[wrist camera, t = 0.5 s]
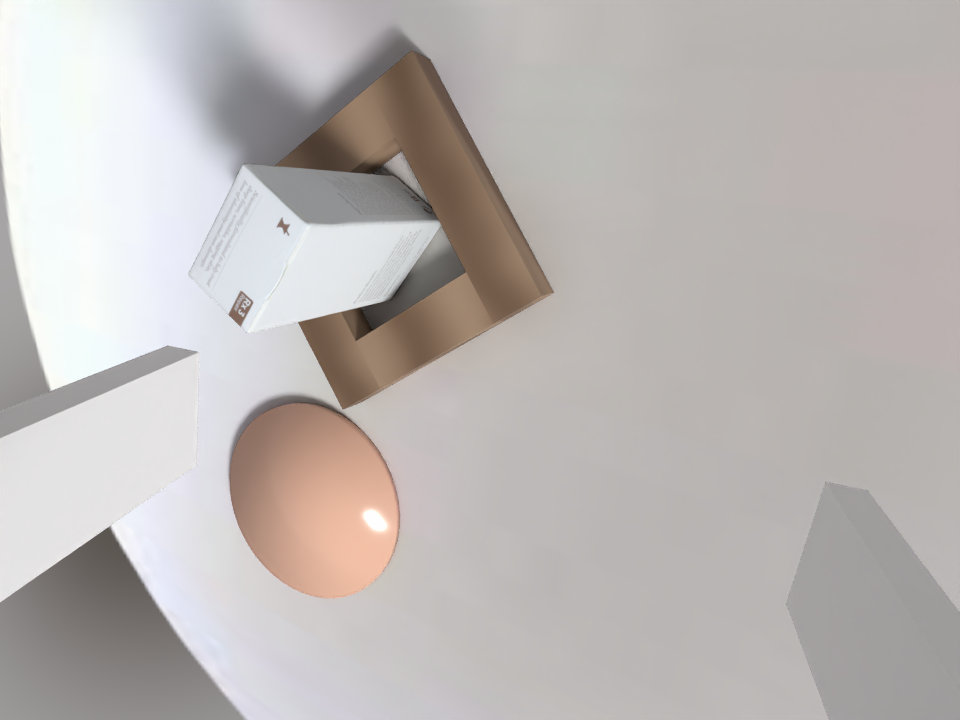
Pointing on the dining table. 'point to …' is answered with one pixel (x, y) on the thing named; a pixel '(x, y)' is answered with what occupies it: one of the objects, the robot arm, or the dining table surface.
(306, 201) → the skincare box
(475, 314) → the socket block
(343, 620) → the dining table surface
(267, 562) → the coaster
